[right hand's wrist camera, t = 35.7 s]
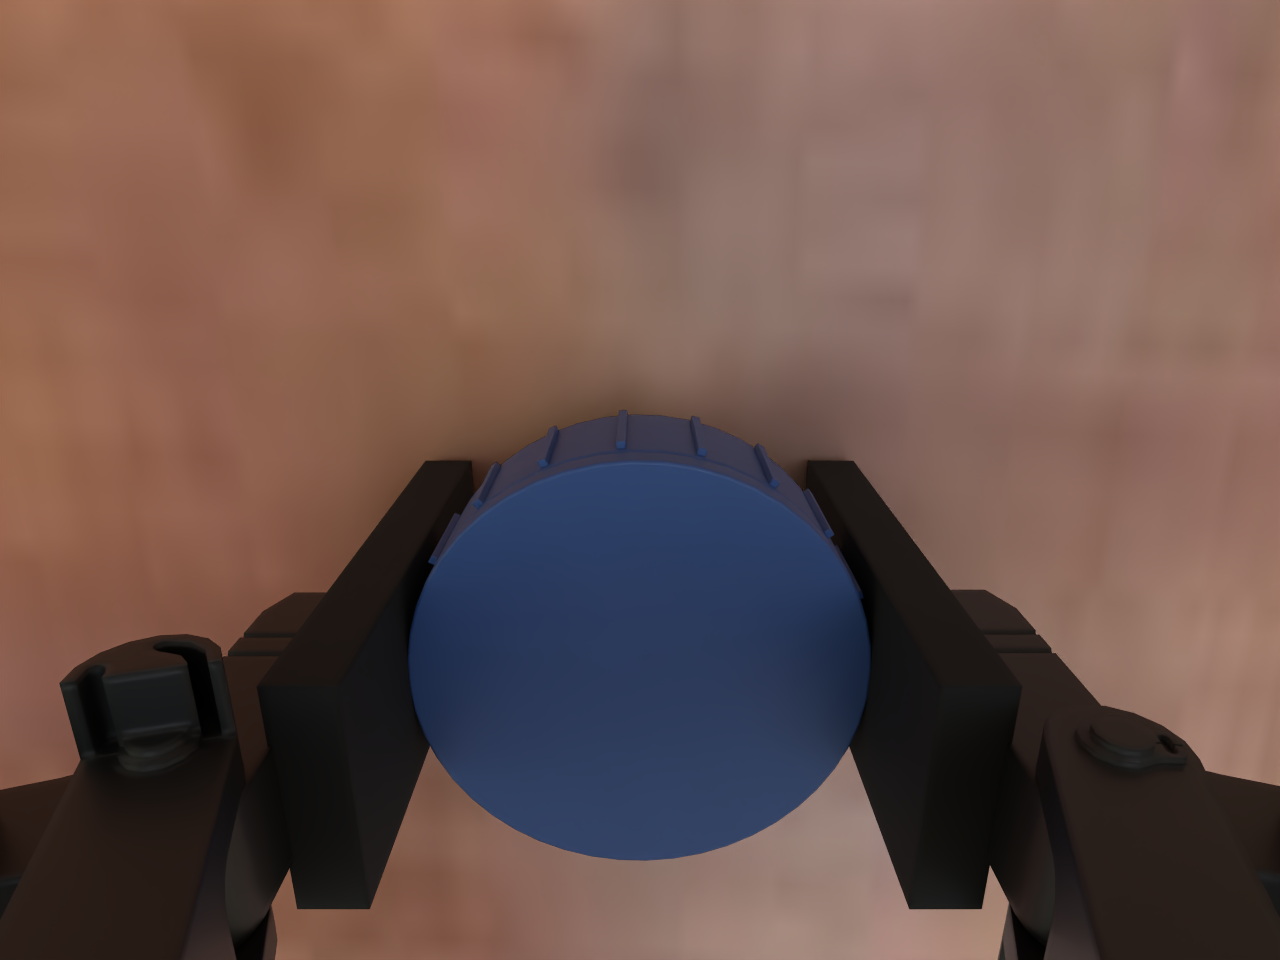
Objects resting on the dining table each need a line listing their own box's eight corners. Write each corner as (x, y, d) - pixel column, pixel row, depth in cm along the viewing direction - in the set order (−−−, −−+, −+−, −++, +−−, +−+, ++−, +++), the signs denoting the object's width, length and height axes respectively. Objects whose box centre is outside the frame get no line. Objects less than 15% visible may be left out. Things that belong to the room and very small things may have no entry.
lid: (648, 829, 13) (649, 934, 12) (355, 611, 12) (304, 690, 10) (924, 595, 12) (976, 671, 10) (627, 317, 11) (625, 347, 9)
